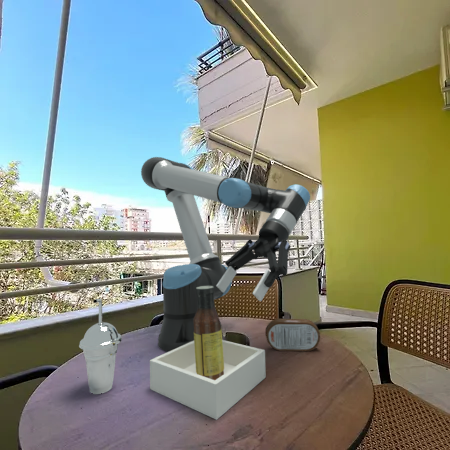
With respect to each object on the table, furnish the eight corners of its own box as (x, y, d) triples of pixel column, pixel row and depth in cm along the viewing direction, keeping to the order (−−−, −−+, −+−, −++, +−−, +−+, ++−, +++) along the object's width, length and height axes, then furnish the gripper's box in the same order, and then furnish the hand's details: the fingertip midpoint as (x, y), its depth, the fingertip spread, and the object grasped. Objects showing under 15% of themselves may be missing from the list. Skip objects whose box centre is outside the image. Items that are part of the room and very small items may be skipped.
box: (150, 389, 59) (149, 360, 60) (205, 358, 74) (204, 335, 74) (216, 419, 49) (215, 384, 49) (265, 377, 63) (264, 350, 63)
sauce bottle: (228, 373, 63) (226, 285, 64) (216, 387, 57) (213, 290, 58) (203, 369, 66) (201, 284, 67) (189, 381, 60) (187, 288, 61)
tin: (319, 348, 79) (318, 318, 79) (322, 352, 76) (320, 321, 76) (265, 347, 80) (264, 317, 81) (266, 351, 77) (265, 321, 78)
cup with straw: (130, 380, 63) (129, 291, 64) (103, 403, 54) (103, 299, 55) (97, 377, 65) (97, 290, 66) (67, 398, 56) (67, 298, 57)
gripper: (323, 237, 68) (285, 312, 58) (253, 239, 88) (215, 294, 78) (309, 215, 65) (266, 290, 55) (239, 222, 85) (199, 278, 75)
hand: (236, 293), depth 66 cm, fingers open, 13 cm apart
